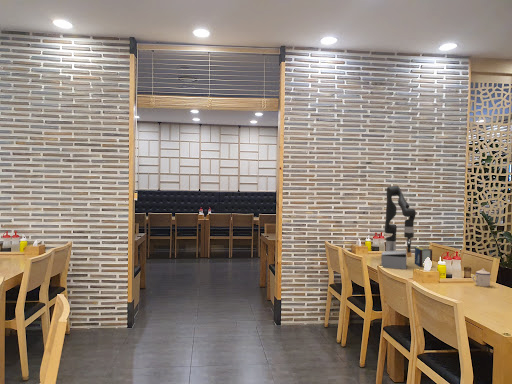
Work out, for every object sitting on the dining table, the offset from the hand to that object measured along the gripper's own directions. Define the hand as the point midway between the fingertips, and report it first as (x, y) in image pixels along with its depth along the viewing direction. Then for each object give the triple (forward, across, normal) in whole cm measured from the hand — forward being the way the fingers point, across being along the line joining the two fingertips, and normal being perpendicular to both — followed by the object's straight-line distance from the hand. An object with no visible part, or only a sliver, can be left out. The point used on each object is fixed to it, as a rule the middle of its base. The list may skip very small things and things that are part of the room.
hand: (408, 252), depth 342 cm
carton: (+13, 0, -12) cm, 18 cm away
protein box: (+14, -17, +12) cm, 25 cm away
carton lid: (+5, 0, -10) cm, 11 cm away
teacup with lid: (+14, +46, +47) cm, 67 cm away
